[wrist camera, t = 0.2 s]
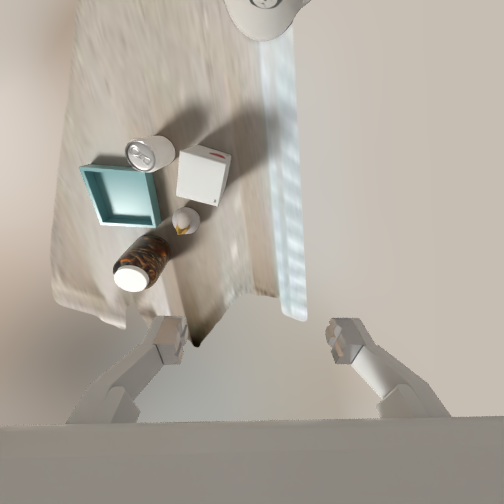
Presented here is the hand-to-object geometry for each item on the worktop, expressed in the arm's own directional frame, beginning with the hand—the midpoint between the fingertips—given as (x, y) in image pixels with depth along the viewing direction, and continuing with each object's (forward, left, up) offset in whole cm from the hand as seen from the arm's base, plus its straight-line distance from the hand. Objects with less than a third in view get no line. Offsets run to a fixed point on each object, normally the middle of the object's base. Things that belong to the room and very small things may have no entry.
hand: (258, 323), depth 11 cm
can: (-3, -22, -48) cm, 52 cm away
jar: (+27, -30, -48) cm, 62 cm away
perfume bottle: (+13, -17, -48) cm, 52 cm away
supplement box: (0, -10, -48) cm, 49 cm away
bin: (+9, -33, -47) cm, 58 cm away
